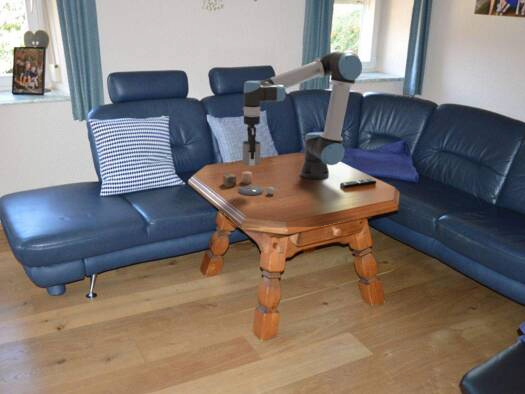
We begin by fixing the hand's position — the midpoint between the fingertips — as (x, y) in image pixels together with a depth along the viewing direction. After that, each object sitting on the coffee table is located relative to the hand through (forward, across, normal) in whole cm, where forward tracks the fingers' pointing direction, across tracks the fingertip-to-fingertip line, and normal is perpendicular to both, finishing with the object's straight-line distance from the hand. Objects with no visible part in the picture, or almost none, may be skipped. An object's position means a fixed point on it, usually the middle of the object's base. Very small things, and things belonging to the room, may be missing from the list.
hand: (251, 162), depth 244 cm
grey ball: (+15, +5, +9) cm, 18 cm away
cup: (+1, 0, 0) cm, 1 cm away
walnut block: (+15, -10, -10) cm, 20 cm away
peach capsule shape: (+15, -14, -1) cm, 20 cm away
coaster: (+15, 0, 0) cm, 15 cm away
